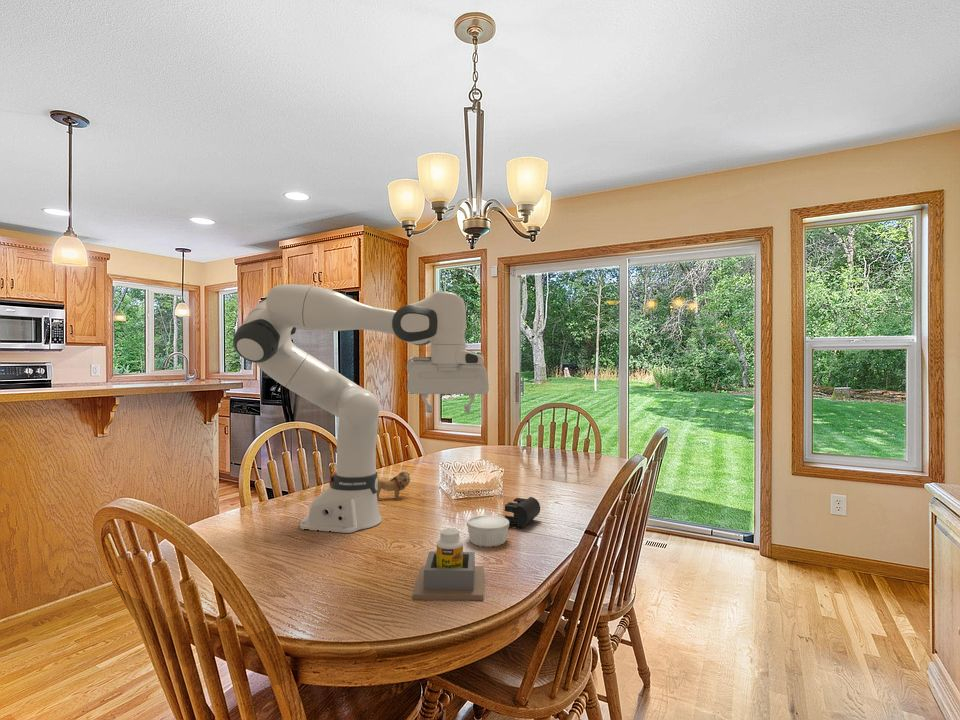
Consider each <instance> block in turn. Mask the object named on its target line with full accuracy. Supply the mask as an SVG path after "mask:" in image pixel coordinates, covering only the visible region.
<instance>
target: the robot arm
mask: <svg viewBox="0 0 960 720" xmlns="http://www.w3.org/2000/svg"><path fill="white" fill-rule="evenodd" d="M465 303H466V302H465V301H464V299H463V297H461V295H459V294H458V293H454V292H450V291H445V290H437V291H434V292H433V293H432V294H430V295H429V296H427V297H426V298H423V299H422V300H419V301H415V302H412V303H410V304H406V305H402V306H401V307H400V308H398V309H397V310H392V309H387V308H380V307H375V306H371V305H367V304H364V303H361V302H359V301H357V300H355V299H354V298H351V297H349V296H347V295H345V294H343V293H340V292H338V291H335V290H333V289H331V288H330V289H329V288H325V287H320V286H315V285H309V284H295V283H291V284H290V283H288V284H287V283H286V284H284V283H283V284H278V285H275V286H273V287H272V288H271V289H270V290H269V291H268V293H267V295H266V297H264V298H262V299H261V301H260V302H259V303H258V304H257V305H256V306H255V307H254V308H253V309H252V310H251V311H250V312H249V313H248V315H247V317H246V319H244V321H243V323H242V324H241V325H240V326H239V327H237V330H235V333H234V335H233V336H234V337H233V340H232V345H233V348H234V350H235V352H236V353H237V354H238V355H239V356H240V357H241V358H243V359H244V360H246V361H248V362H251V363H255V364H256V366H258V368H259V369H260V370H261V371H262V372H264V373H265V374H266V375H267V376H268V377H270V378H271V379H272V380H274V381H275V382H277V383H279V384H280V385H281V386H283V387H284V388H286V389H288V390H290V391H291V392H293V393H295V395H298V396H300V397H301V398H303V399H304V400H306V401H308V402H309V403H312V404H314V405H316V407H317V406H318V408H321V409H322V410H325V411H326V412H328V413H329V414H331V415H334V416H335V417H337V418H338V419H337V421H338V422H337V423H338V424H337V440H336V471H334V472H333V473H332V474H331V476H330V477H329V478H328V484H329V486H330V487H328V488H327V489H326V490H325V491H323V492H322V493H321V494H319V495H318V496H317V497H316V498H315V499H314V500H313V501H312V502H311V504H310V507H309V510H308V514H307V515H306V516H304V518H302V519H301V521H300V524H299V528H300V529H301V530H304V529H309V530H308V531H317V530H319V531H321V532H329V531H331V532H333V533H342V534H343V533H344V534H347V533H348V534H349V533H354V532H357V531H360V530H364V529H369V528H372V527H376V526H377V525H379V524H381V522H382V516H381V512H380V508H379V502H378V499H377V490H378V479H379V478H378V472H377V465H376V464H377V462H376V461H377V440H378V439H377V438H378V430H379V428H378V427H379V417H380V405H379V404H380V403H379V400H378V399H377V397H376V395H375V394H374V393H372V392H371V391H370V390H368V389H365V388H364V387H362V386H360V385H358V384H357V383H356V382H354V381H352V380H350V379H349V378H347V377H346V376H344V375H343V374H341V373H340V372H338V371H336V370H335V369H333V368H332V367H330V366H329V365H327V364H325V363H324V362H323V361H321V360H319V359H318V358H316V357H314V356H312V355H311V354H310V353H308V352H306V351H305V350H303V349H301V348H300V347H298V346H297V345H295V344H294V343H293V341H292V338H291V336H292V335H294V334H295V333H296V330H297V329H298V328H299V329H304V330H309V331H315V332H317V331H318V332H341V331H352V330H353V331H355V330H363V331H373V332H380V333H385V334H391V335H395V336H396V337H397V338H398V339H400V340H401V341H403V342H404V343H408V344H412V345H415V346H419V347H421V346H426V345H429V344H430V356H413V357H412V358H410V359H408V361H407V363H406V372H407V374H408V378H407V386H406V387H407V388H406V390H407V392H408V393H409V394H410V395H421V399H422V402H423V403H424V405H425V411H426V412H425V413H430V414H431V413H433V412H434V411H433V410H434V409H433V408H434V405H433V404H430V403H429V401H428V398H429V395H468V399H470V400H469V402H468V403H467V404H465V405H464V406H463V408H464V410H463V411H464V414H465V413H466V414H467V413H470V414H471V406H472V404H473V403H474V401H475V396H476V395H487V394H488V393H489V391H490V388H489V387H490V384H489V376H488V371H487V369H486V367H485V366H484V365H483V364H484V361H485V359H484V358H485V357H484V356H483V355H481V354H479V353H475V352H474V351H469V350H467V341H466V336H465V333H466V330H467V309H466V304H465ZM319 531H318V532H319ZM331 532H330V533H331Z"/></svg>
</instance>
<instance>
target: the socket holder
mask: <svg viewBox="0 0 960 720" xmlns="http://www.w3.org/2000/svg"><path fill="white" fill-rule="evenodd" d="M475 556H476V555H475V551H463V568H437V551H429V552H428V555H427V558H426V561H425V564H424V565H421V566H420V569H419V573H418V575H417V579H416V581H415V585H414V587H413V588H414V589H413V591H412V595H411V596H412V600H414V601H417V600H418V601H423V600H424V601H425V600H427V601H429V600H431V601H484V584H485V583H484V580H485V579H484V577H485V576H484V575H485V573H484V572H485V571H484V570H485V567H484V566H483V565H482V566H480V565H479V566H478V565H477V566H476V565H475V561H476V560H475V558H476V557H475Z"/></svg>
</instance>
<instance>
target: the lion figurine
mask: <svg viewBox="0 0 960 720" xmlns="http://www.w3.org/2000/svg"><path fill="white" fill-rule="evenodd" d="M410 482H411V477H410V472H407V471H405V470H404V471H403V470H402V471H401V472H400V473H398V474H397V475H395V476H393V477H392V479H391V478H390V479H382V478H378V490H377V501H379V500H381V501H382V500H383V499H382V498H381V497H380V493H381V491H382V490H384V491H387V492H392V491H393V492H394V498H395V499H396V500H397V501H400V500H401V498H400V491H403V490H405V489H406V487H407V486H408V485H409V483H410Z"/></svg>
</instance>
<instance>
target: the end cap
mask: <svg viewBox="0 0 960 720" xmlns="http://www.w3.org/2000/svg"><path fill="white" fill-rule="evenodd" d="M504 512H507V513H513V516H511V515H504V518H506V519H508V520H509V526H510V527H509V528H512V527H516V528H515V529H518V528H519V529H521V528H523V527H524V526H526V525H527V524H529V523H530V522H531V521H533V520H534V519H535V518H536V517H538V516H539V514H540V512H541V504H540V502H539V501H538V500H537V498H535V497H533V496H530V497H528V498H523V497H516V498H514V499H513V502H509V501H508V502H507V503H506V504H505V505H504Z"/></svg>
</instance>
